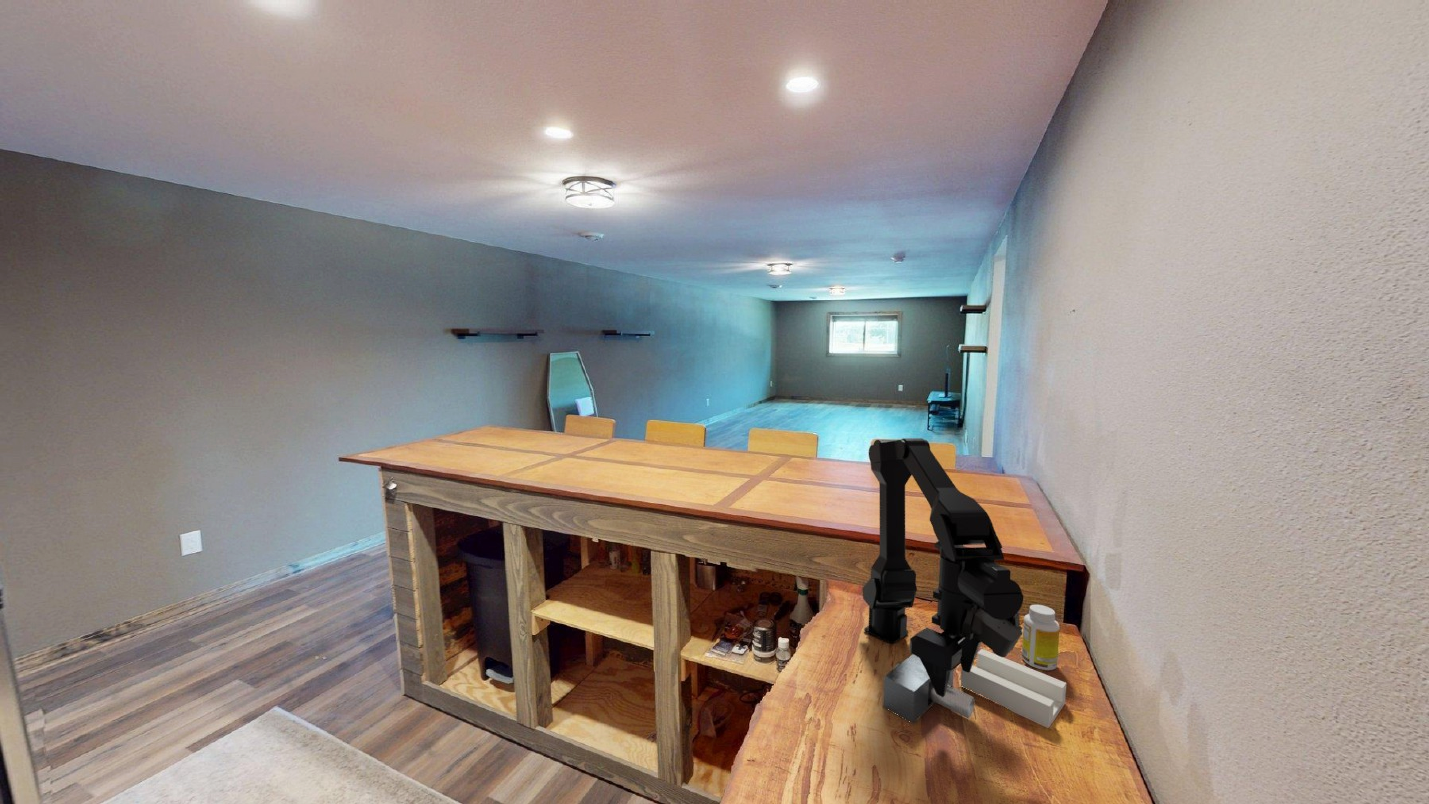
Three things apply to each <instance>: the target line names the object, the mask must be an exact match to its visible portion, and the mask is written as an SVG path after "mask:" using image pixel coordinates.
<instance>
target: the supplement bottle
mask: <svg viewBox="0 0 1429 804" xmlns="http://www.w3.org/2000/svg"><path fill="white" fill-rule="evenodd" d="M1022 625H1023V626H1022V644H1021V646H1022V648H1021V656H1022V659H1023V661H1024V662H1025V663H1026V664H1027V665H1029V666H1031V667H1033V668H1034V669H1038V670H1042V671H1052V670H1055V669H1056V668H1058V660H1059V659H1058V658H1059V645H1060V644H1059V642H1060V624H1059V622H1058V621H1057V620H1056V612H1055V610H1054V609H1053V608H1051V607H1048V606H1046V605H1042V604H1031V605H1030V606H1029V610H1028V614H1025V616H1024V617H1023V624H1022Z"/></svg>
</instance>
